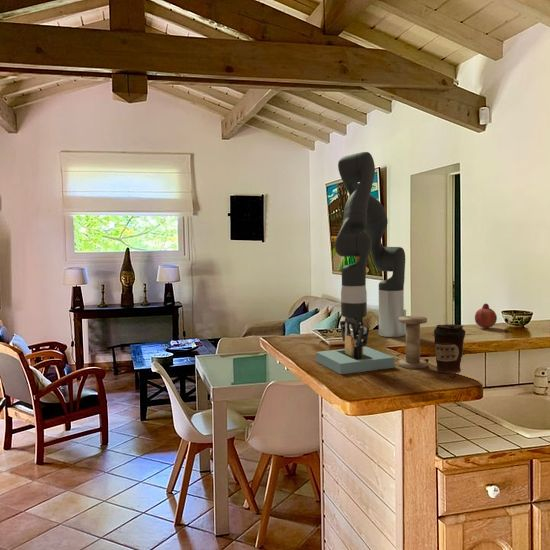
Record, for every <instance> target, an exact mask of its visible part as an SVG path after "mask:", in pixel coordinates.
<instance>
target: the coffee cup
mask: <svg viewBox="0 0 550 550" xmlns="http://www.w3.org/2000/svg"><path fill="white" fill-rule="evenodd" d="M463 327H464V326H463V325H461V324H460V325H459V324H446V323H445V324H437V325H436V326H435V328H434V330H433V337H434V351H435V353H434V355H435V361H436V363H435V364H436V371H437V372H439V373H442V374H443V373H444V374H460V373H462V369H461V362H462V358H463V355H464V354H463V353H464V342H465V341H464V340H465V337H466V330H465V329H463Z"/></svg>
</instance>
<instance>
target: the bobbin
mask: <svg viewBox="0 0 550 550" xmlns="http://www.w3.org/2000/svg"><path fill="white" fill-rule="evenodd" d="M399 322H401V323H406V335H405V358H401V359H400V360H398V366H399V367H401V368H405V369H411V370H412V369H413V370H418V369H419V370H420V369H424V368H427V367H428V361H426V360H424V359H421V324H423V325H424V324H427V323H428V318H427V317H426V316H421V315H420V316H418V315H406V316H402V317H399Z"/></svg>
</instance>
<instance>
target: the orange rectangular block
mask: <svg viewBox="0 0 550 550" xmlns="http://www.w3.org/2000/svg"><path fill="white" fill-rule="evenodd" d="M355 336H358V335H355ZM357 341H358V339H357ZM363 347H364V346H363ZM363 347H362V359H359V360H363ZM344 349H345V355H346V356H348V357H350V358H353V359H354V339H353V338H352V337H351V334H349V335H346V334H345V341H344ZM355 360H356V359H355Z"/></svg>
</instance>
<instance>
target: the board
mask: <svg viewBox="0 0 550 550" xmlns="http://www.w3.org/2000/svg"><path fill="white" fill-rule="evenodd" d="M315 357H316V358H315V360H316V363H318V364H320V365H322V366H324V367H325V368H327V369H330V370H331V371H334V372H336V373H337V374H339V375H346V374H354V373H355V374H356V373H362V372H369V371H379V370H385V369H386V370H387V369H394V368H396V367H395V357H394V356H392V355H390V354H387V353H385V352H381V351H379V350H376V349H373V348H371V347H369V346H363V360H355V359H353V358H350V357H348V356H346V355H345V348H342V349H340V348H339V349H331V350H330V349H329V350H324V351H322V350H321V351H316V353H315ZM378 369H379V370H378Z"/></svg>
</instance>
